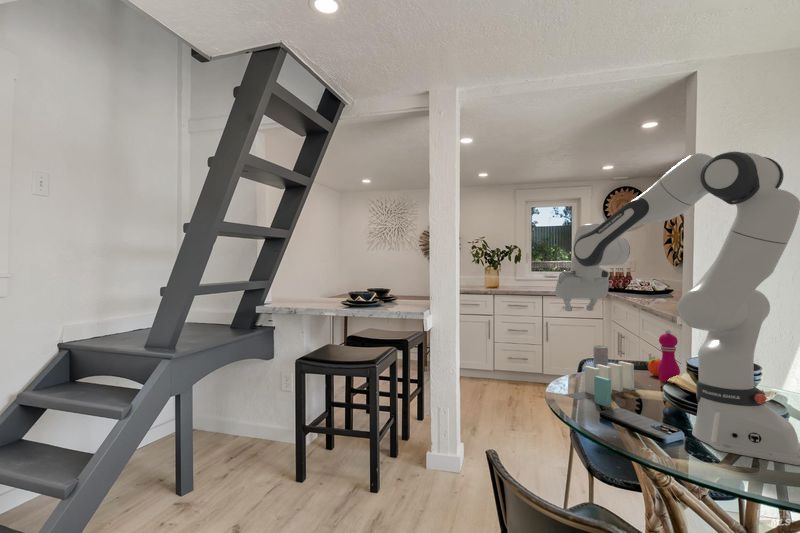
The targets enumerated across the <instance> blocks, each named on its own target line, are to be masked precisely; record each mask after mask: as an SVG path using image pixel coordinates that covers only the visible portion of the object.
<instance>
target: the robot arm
mask: <svg viewBox="0 0 800 533" xmlns="http://www.w3.org/2000/svg"><path fill="white" fill-rule="evenodd" d="M784 175H785V174H784V170H783V168H782V166H781V165H780V164H779V163H778V162H777V161H776V160H774V159H772V158H770V157H767V156H762V155H761V154H760V155H759V154H757V153H753V152H741V151H728V152H723V153H720V154H717V155H715V156H713V157H712V156H711V155H709V154H706V153H694V154H691V155H688V156H687V157H686V158H683V159H682V160H681V161H679V162H678V163H677V164H676V165H674V166H673V167H671V169H669V170H668V171H667V172H665V174H664V175H662V176H661V177H660V178H659V179H658V180H656V182H655V183H653V184H652V185H651V186H650V187H649V188H648V189H646V190H645V191H644V192H642V193H641V194H640V195H638V196H637V197H635V198H634V199H632V200H630V201H629V202H628V203H626V204H625V205H623V206H622V207H620V208H619V209H618V210H617V211H615V212H614V213H613V214H612V215H611V216H609V217H608V218H607V219H606V220H604V221H603V222H602V223H600V224H599V223H585V224H581V225H579V226H578V227H577V229H576V230H575V234H574V239H573V246H572V252H573V256H572V258H571V263H570V269H569V270H562V271H561V272H560V273H559V275H558V279H557V281H556V284H555V290H554V295H555V296H556V298H559V299H562V300H563V303H564V305H565V308H564V310H565V311H566V312H572V311H573V305H571V302H572V299H589V304H587V305H586V311H590V312H593V311H594V310H595V309H594V308H595V306H596V304H597V303H598V299H605V298H607V296H608V293H609V288H610V287H609V285H610V284H609V283H610V281H609V278H610V276H611V273H610V271H608V270H606V269H604V268H601V267H600V266H607V267H608V266H619V265H622V264H625V262H627V260H628V259H629V257H630V254H631V247H630V244H629V242H628V240H627V239H626V238H624V237H622V236H624V235H625V234H626V233H627V232H629V231H630V230H633V229H634V228H636V227H639V226H642V225H645V224H646V225H647V224H651V223H658V222H659V223H660V222H667V221H670V220H673V219H675V218H677V217H679V216H680V215H682V214H684V213H685V212H686V211H688V210H690V208H691V207H693V206H694V205H695V204H696V203H697V202H698V201H700V200H702V199H703V198H704V197H705V196H706V195H707V194H711V195H712V196H714V197H716V198H718V199H720V200H721V201H723V202H724V203H726V204H728V205H730V206H731V205H732V206H734V205H735V206H736V208H737V212H736V216H735V218H734V221H733V222H732V225H731V227H730V229H729V231H728V234H727V236H726V237H725V240H724V242H723V244H722V247H721V248H720V250H719V253H718V255H717V257H716V258H715V260H714V261H713V262H712V264H711V265H710V267H709V269H708V270H707V271H706V272H705V273H704V275H703V276H702V277H701V278H700V280H699V281H698V282H697V283H696V284H695V285H694V286H693V287H692V288H691V289H690V290H689V291H687V292H686V293H684V294H682V296H681V297H680V298H679V300H678V303H677V313H678V315H679V318H680V319H681V320H682V322H683V323H684V324H685V325H687V326H688V327H690V328H692V329H696V330H702V331H706V332H707V335H706V338H705V340H704V342H703V343H702V345H701V346H700V348H699V349H698V352H697V358H698V360H697V361H698V362H697V363H698V364H697V366H698V380H696V383H695V384H696V385H695V390H696V391H695V395H696V401H697V411H696V412H697V413H696V417H695V418H696V419H695V423H694V425H693V429H692V432H691V434H692V436H693V437H695V439H697V440H699V441H701V442H703V443H705V444H708V446H711V447H712V448H713V449H715V450H717V451H719V452H724V453H730V454H734V455H735V454H736V455H741V456H746V457H751V458H758V459H762V460H763V459H764V460H766V461H767V460H768V461H774V462H778V463H783V464H788V465H795V466H800V442H799V437H798V435H797V434H798V433H797V432H796V429H795V427H794V426H793V424H792V423H791V422H790V421H788V419H786V418H784V417H783V416H782V415H780V414H779V413H777V411H775V410H774V409H773V408H771V407H769V406H768V405H766V400H767V396H766V393H765V391H764V389H760V388H758V387H756V386H755V382H754V377H755V376H754V373H755V372H754V369H755V368H754V367H755V366H754V363H755V362H754V357H755V351H756V350H755V349H756V346H757V342H758V338H759V336H760V331H761V328H762V325H763V323H764V321H765V320H766V319H767V317H768V316H769V314H770V310H771V305H770V303H771V302H769V298H768V297H767V296H766V295H765V294H764V293H762V291H759V290H757V288H758V287H759V286H760V285H761V284H762V283H763V282H764V281H765V280H767V279H768V278H770V276H771V275H772V274H773V273H774V271H775V268H776V267H777V265H778V263H779V261H780V259H781V257H782V255H783V254H784V252H785V249H786V247H787V245H788V244H789V242H790V239H791V238H792V235H793V233H794V230H795V227H796V224H797V221H798V218H799V214H800V199H799V198H798V196H796V194H793V193H792V192H790V191H788V190H785V189H780V187H781V185H782V184H783V181H784V178H785V177H784Z"/></svg>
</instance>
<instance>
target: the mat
mask: <svg viewBox="0 0 800 533" xmlns="http://www.w3.org/2000/svg"><path fill="white" fill-rule="evenodd" d="M636 390H637V391H638V388H637V387H634V389H633V390H630V389H626V388H623V391H622V392H619V391H616V390H612V393H611V395H613V394H620V393H626V392H630V391H636ZM565 396H566V397H569V398H571V399H575V400H577V401H580V400H585V399H590V398H595V396H594V395H593V394H590V393H587V392H585V390H584V391H579V392H574V393H573V392H572V393H568V394H567V393H566V394H565Z"/></svg>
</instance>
